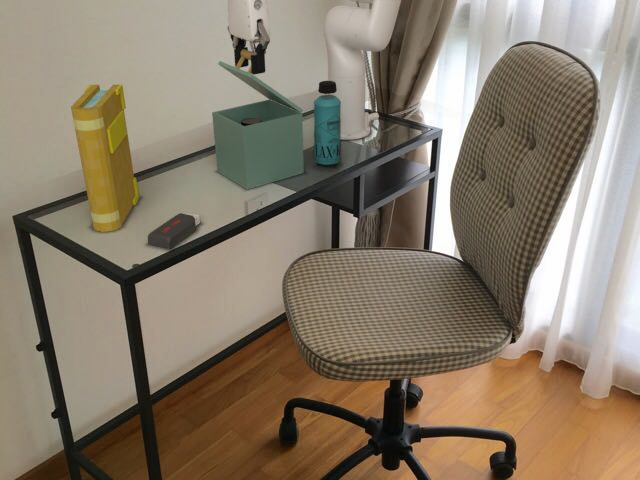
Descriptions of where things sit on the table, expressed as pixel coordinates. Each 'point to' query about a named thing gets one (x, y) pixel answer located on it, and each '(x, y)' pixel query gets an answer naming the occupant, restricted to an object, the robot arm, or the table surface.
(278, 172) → the bin
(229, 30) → the robot arm
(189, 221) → the usb drive
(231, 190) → the table surface
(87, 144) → the book
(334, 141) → the beverage bottle
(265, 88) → the bin lid
